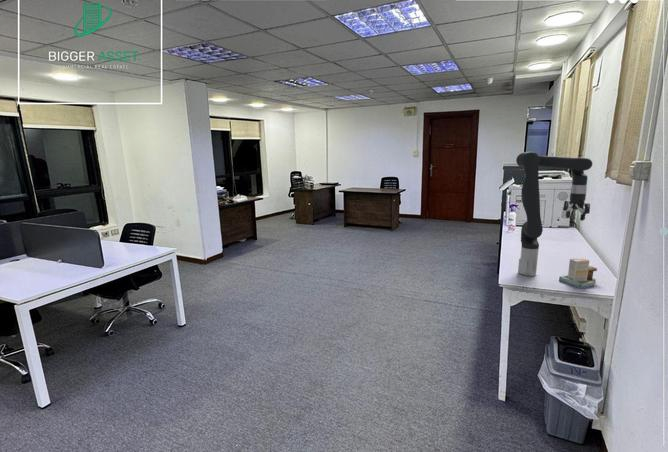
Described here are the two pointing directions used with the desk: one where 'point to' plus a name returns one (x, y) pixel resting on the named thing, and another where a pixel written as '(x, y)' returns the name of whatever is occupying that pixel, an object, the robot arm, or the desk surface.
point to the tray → (576, 284)
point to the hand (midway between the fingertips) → (574, 219)
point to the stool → (591, 274)
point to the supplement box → (578, 269)
